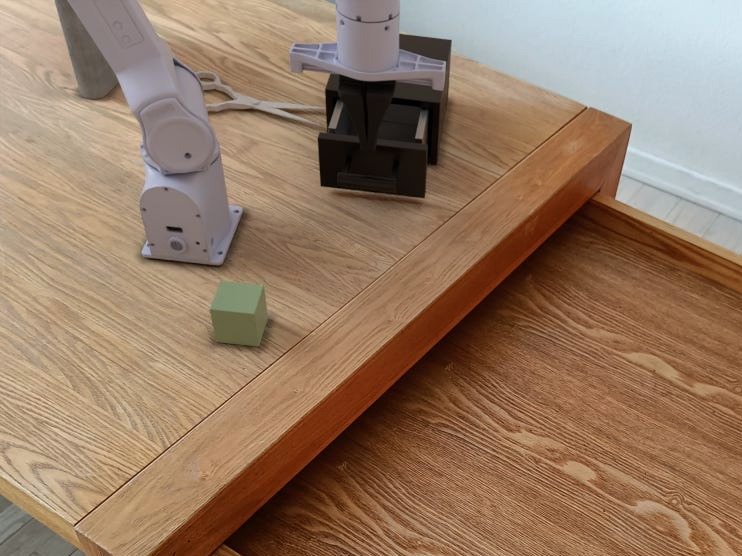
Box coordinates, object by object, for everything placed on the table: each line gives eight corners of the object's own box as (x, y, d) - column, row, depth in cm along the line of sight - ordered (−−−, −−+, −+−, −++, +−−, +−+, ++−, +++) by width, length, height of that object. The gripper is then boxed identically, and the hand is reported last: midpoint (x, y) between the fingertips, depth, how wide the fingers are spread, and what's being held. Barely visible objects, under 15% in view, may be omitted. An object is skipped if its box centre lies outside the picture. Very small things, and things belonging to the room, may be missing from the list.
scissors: (183, 66, 109) (342, 92, 108) (185, 73, 109) (342, 98, 109) (149, 110, 102) (318, 138, 101) (151, 116, 103) (318, 144, 102)
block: (259, 347, 81) (254, 314, 78) (215, 342, 81) (209, 309, 78) (268, 318, 84) (264, 284, 81) (226, 313, 84) (220, 280, 80)
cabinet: (436, 165, 102) (440, 102, 96) (328, 152, 102) (324, 89, 96) (448, 100, 111) (451, 39, 105) (348, 88, 111) (346, 26, 105)
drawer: (420, 222, 94) (422, 174, 89) (313, 210, 93) (309, 160, 89) (436, 132, 105) (439, 85, 100) (340, 121, 104) (338, 73, 100)
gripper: (452, -2, 82) (443, 133, 92) (295, -21, 81) (305, 117, 92) (445, 34, 77) (437, 171, 88) (280, 13, 77) (291, 154, 88)
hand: (369, 146), depth 90 cm, fingers closed
